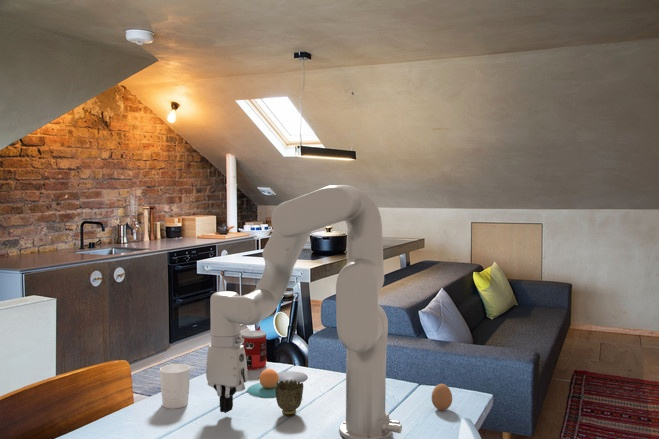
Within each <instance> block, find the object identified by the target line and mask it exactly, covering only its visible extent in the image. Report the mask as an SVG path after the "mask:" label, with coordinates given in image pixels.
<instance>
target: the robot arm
mask: <svg viewBox="0 0 659 439" xmlns="http://www.w3.org/2000/svg"><path fill="white" fill-rule="evenodd" d="M379 209H380V208H378V205H377V203H376V202H375V201H374V200H373V198H372V196H371V195H369V194H368V193H366V192H365V191H363V190H362V189H359V188H358V187H355V186H353V185H349V184H339V185H338V184H336V185H335V184H334V185H327V186H324V187H322V188H319V189H317V190H314V191H312V192H308V193H305V194H303V195H301V196H298V197H296V198H295V197H294V198H292V199H290V200H286V201H283V202H281V203H279V204H278V205H277V206H276V207H275V209H274V210H273V212H272V215H271V221H270V222H271V227H272V229H273V230H272V232H271V234H270V236H269V238H268V240H267V242H266V244H265V246H264V248H263V250H262V258H263V261H264V270H263V272H262V275H261V277H260V279H259V281H258V283H257V285H256V287H255V289H254V290H252V291H251V292H249V293H246V294H244V295H243V294H242V295H240V294H239V293H237V292H235V291H232V290H231V291H229V290H225V291H224V290H223V291H221V290H220V291H217V292H214V293H212V295H211V296H210V301H209V302H210V307H209V308H210V309H209V310H210V344H209V346H208V349H207V355H206V365H205V367H206V368H205V369H206V371H205V376H206V381H207V386H209V387H211V388H213V389H214V390H215V392H216V394H217V396H218V397H219V411H220V413H225V414H227V413H229V412H230V411H232V410H233V407H234V395H235V394H236V393H239V392H243V391H245V390H246V385H245V383H246V382H248V369H247V362H246V355H245V350H244V346H243V345H241V343H244V338H241V335H242V333H241V325H242V326H254V325H256V324H258V323H260V322H262V321H264V320H265V319H266V318H268V317H269V316H271V315H273V313H275V311H276V309H277V307H278V306H279V304H280V302H281V300H282V298H283V296H284V294H285V293H286V291H287V289H288V286H289V283H290V280H291V278H292V274H293V270H294V267H295V266H296V263H297V261H298V259H299V257H300V255H301V253H302V251H303V249H304V247H305V245H306V244H307V242H308V240H309V238H310V236H311V234H312V232H314V231H318V230H320V229H323V228H325V227H329V226H331V225H334V224H338V223H341V222H345V223H346V227H347V234H346V253H347V254H346V255H347V256H346V264H345V265H344V266H343V267H342V268H341V269H340V271H339V273H338V275H337V278H336V283H335V306H336V307H335V309H336V310H335V311H336V312H335V313H336V314H335V315H336V318H335V319H336V331H337V332H336V333H337V336H338V339H339V341H340V343H341V344H342V345H343V347H344V348H346V358H345V361H346V362H345V420H344V421H343V422H342V423H340V425H339V431H338V432H339V434H340V435H341V436H342V437H343V438H345V439H388V438H390V437H391V436H392V433H397V434H401V433H402V431H403V430H402V429H403V425H402V424H401V421H399V420H392V419H391V418H390V413H389V412H386V391H387V390H386V388H387V387H386V384H387V383H386V379H387V377H386V373H387V347H388V346H387V345H388V334H389V321H388V316H387V314H386V311H385V310H384V308H383V307H382V306H381V305H380V304H379V292H380V291H381V290H382V288H383V286H384V283H385V268H384V245H383V225H382V224H383V223H382V216H381V213H380V210H379Z"/></svg>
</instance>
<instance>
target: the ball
mask: <svg viewBox="0 0 659 439" xmlns="http://www.w3.org/2000/svg"><path fill="white" fill-rule="evenodd" d="M277 373H278V372H277V371H276V370H275V369H272V368H266V369H264V370H262V371H261V373H260V374H259V378H258V379H259V383H260V384H261V385H262V386H263V387H264V388H267V389H271V388H273V387H275V386H276V383H277V382H278V380H279V377H278V374H277Z"/></svg>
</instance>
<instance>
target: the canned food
mask: <svg viewBox="0 0 659 439" xmlns="http://www.w3.org/2000/svg"><path fill="white" fill-rule="evenodd" d="M241 338H244V343H241V345H243V346H244V350H245V355H246V362H247V371H248V370H250V371H251V370H253V371H255V370H257V371H258V370H261V369H265V367H266V365H267V333H266V332H265V331H262V330H247V331H243V332H242V333H241Z"/></svg>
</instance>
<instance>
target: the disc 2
mask: <svg viewBox="0 0 659 439" xmlns="http://www.w3.org/2000/svg"><path fill="white" fill-rule="evenodd" d="M277 374H278V377H279V380H278V382H280V381H283V382H284V383H285V382H286V380H288V383H289V382H290V381H291V380H292V381H293V382H294V380H295V381H296V382H297V384H298V382H299V381H300V383H302V382H305V381H306V380H308V375H307V374H306V373H304V372H302V371H301V372H300V371H292V370H291V371H290V370H287V371H281V372H277Z"/></svg>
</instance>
